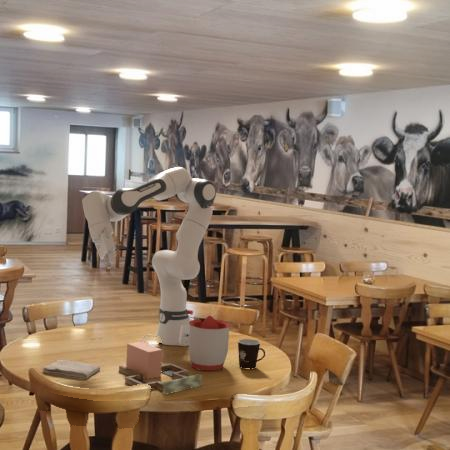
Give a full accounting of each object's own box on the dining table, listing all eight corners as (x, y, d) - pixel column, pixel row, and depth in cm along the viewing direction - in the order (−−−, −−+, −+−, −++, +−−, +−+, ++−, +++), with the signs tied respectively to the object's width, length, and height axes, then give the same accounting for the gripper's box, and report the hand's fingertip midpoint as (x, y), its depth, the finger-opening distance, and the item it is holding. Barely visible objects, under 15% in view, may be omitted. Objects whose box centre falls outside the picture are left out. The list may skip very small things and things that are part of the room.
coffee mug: (232, 364, 266) (234, 339, 265) (252, 363, 269) (254, 338, 268) (245, 373, 255) (247, 347, 254) (265, 372, 258) (267, 346, 258)
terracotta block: (139, 367, 255) (140, 341, 254) (160, 376, 246) (162, 349, 245) (126, 370, 251) (127, 343, 250) (147, 379, 242) (148, 352, 241)
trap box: (157, 363, 261) (158, 353, 261) (208, 384, 241) (209, 373, 240) (105, 373, 245) (106, 363, 245) (155, 397, 224) (156, 385, 224)
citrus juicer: (223, 359, 272) (225, 310, 270) (230, 373, 254) (234, 320, 253) (184, 359, 269) (186, 309, 267) (189, 373, 252) (192, 320, 250)
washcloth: (57, 365, 254) (57, 357, 253) (101, 371, 249) (101, 363, 249) (40, 374, 242) (40, 365, 242) (86, 381, 238) (87, 372, 237)
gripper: (113, 224, 255) (123, 259, 254) (106, 235, 275) (115, 268, 273) (96, 228, 253) (107, 263, 252) (91, 239, 272) (100, 272, 271)
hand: (111, 266), depth 262 cm, fingers open, 8 cm apart
